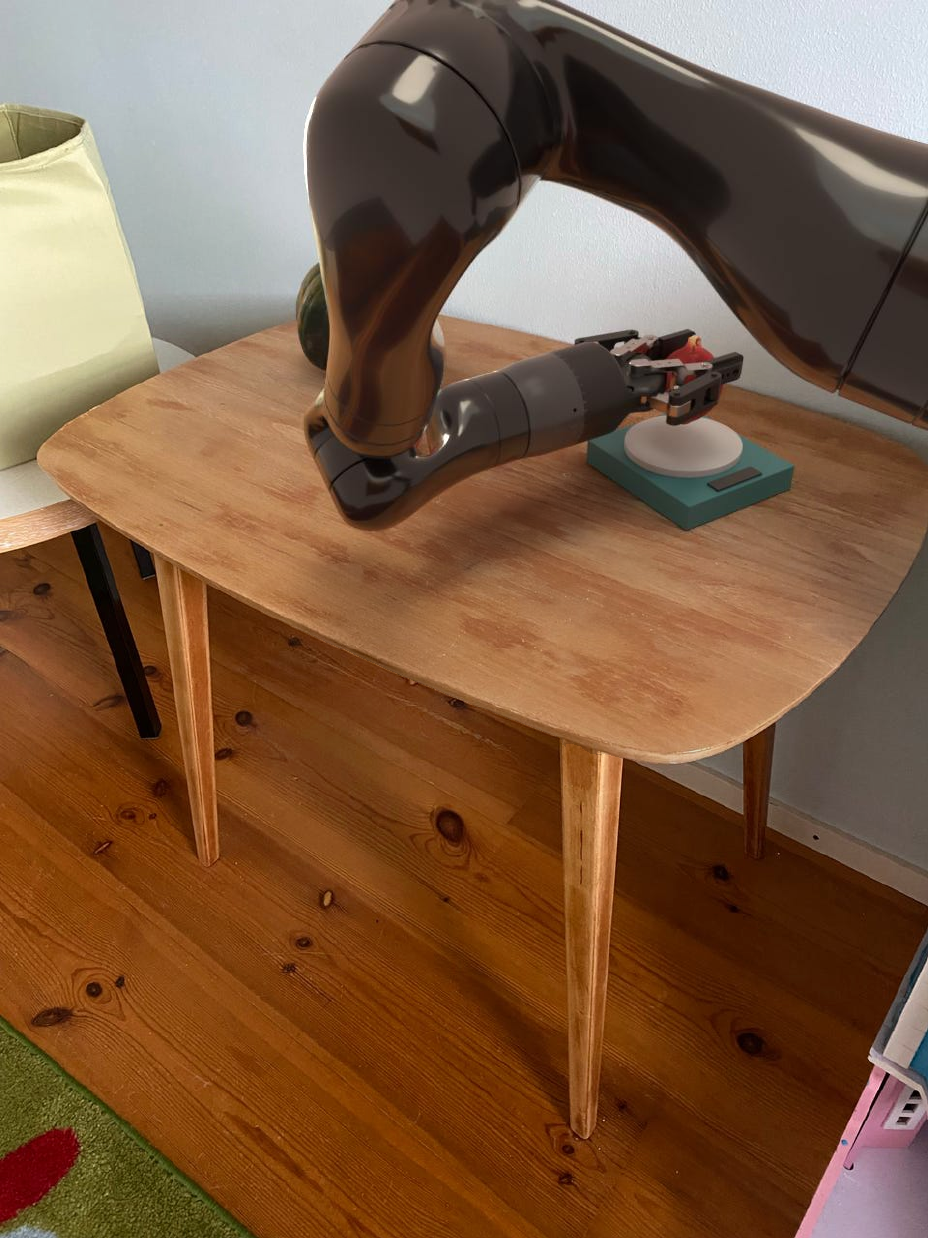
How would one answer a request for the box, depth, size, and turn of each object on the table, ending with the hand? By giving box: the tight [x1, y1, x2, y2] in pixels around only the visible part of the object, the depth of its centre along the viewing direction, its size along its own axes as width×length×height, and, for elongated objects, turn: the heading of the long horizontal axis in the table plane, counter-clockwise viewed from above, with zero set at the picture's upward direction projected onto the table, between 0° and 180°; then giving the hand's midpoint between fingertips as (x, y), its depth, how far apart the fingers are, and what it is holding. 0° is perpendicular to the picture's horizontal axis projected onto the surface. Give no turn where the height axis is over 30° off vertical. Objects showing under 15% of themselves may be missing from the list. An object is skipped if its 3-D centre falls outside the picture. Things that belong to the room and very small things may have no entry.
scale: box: [586, 413, 795, 531], centre depth 89 cm, size 14×12×3 cm
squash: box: [295, 261, 330, 372], centre depth 106 cm, size 14×15×15 cm
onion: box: [664, 334, 724, 425], centre depth 85 cm, size 6×6×8 cm
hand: (714, 352), depth 84 cm, fingers closed on onion, 5 cm apart
